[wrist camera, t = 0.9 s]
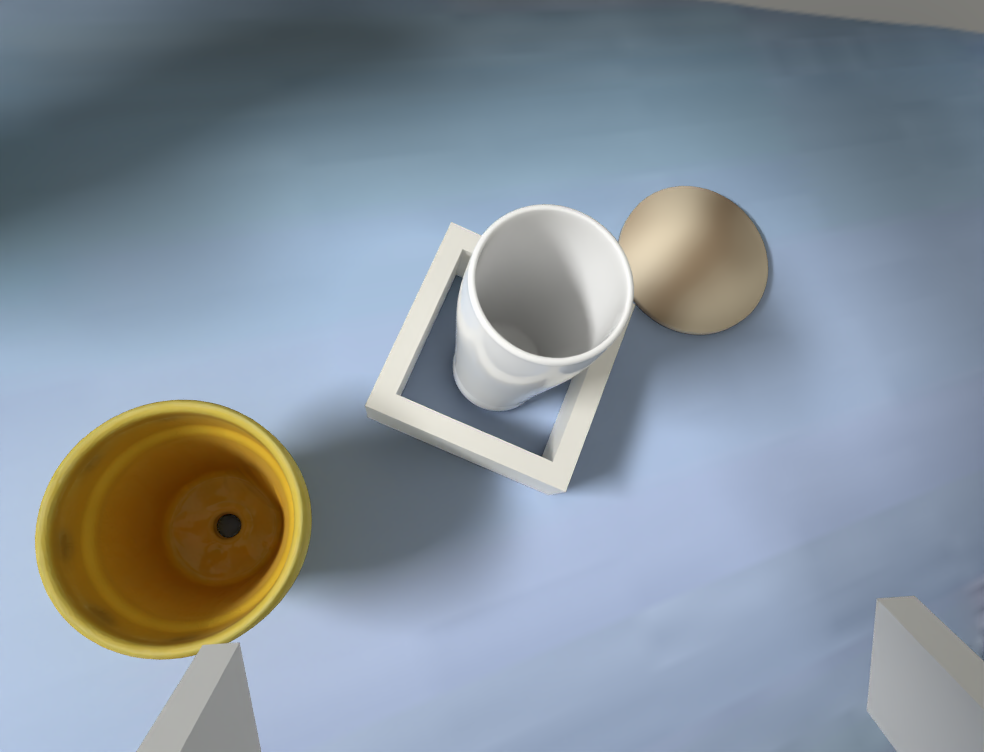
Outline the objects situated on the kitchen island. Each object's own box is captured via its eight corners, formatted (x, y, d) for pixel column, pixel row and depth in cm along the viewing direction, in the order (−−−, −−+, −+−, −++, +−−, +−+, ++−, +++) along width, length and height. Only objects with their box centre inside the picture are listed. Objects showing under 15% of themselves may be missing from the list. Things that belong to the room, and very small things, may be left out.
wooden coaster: (595, 295, 42) (598, 292, 42) (646, 166, 45) (649, 162, 44) (738, 359, 43) (743, 357, 42) (780, 228, 45) (785, 224, 45)
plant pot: (309, 413, 38) (282, 376, 29) (343, 598, 37) (326, 623, 27) (115, 451, 36) (18, 425, 27) (140, 649, 35) (45, 695, 25)
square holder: (367, 417, 39) (365, 405, 35) (445, 250, 42) (451, 222, 38) (548, 495, 39) (565, 491, 35) (613, 324, 42) (635, 304, 38)
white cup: (571, 388, 41) (670, 312, 26) (478, 446, 39) (528, 400, 25) (512, 296, 42) (576, 172, 27) (417, 349, 40) (432, 249, 26)
